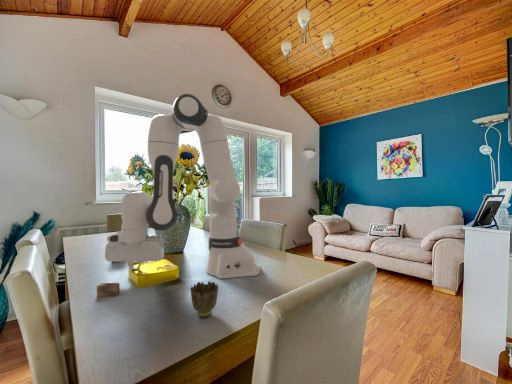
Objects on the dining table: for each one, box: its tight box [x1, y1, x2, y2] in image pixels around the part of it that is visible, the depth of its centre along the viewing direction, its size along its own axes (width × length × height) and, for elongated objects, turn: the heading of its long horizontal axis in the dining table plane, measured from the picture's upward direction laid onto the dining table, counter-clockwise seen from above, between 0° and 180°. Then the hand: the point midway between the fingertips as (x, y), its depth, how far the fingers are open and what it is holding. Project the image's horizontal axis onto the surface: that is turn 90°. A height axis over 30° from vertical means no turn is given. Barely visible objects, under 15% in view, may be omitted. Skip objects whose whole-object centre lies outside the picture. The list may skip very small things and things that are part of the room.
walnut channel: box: [96, 261, 149, 298], centre depth 90 cm, size 6×25×4 cm, turn 2°
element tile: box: [128, 258, 180, 289], centre depth 94 cm, size 15×15×5 cm
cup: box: [189, 281, 219, 319], centre depth 66 cm, size 8×7×8 cm
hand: (135, 272), depth 90 cm, fingers closed
